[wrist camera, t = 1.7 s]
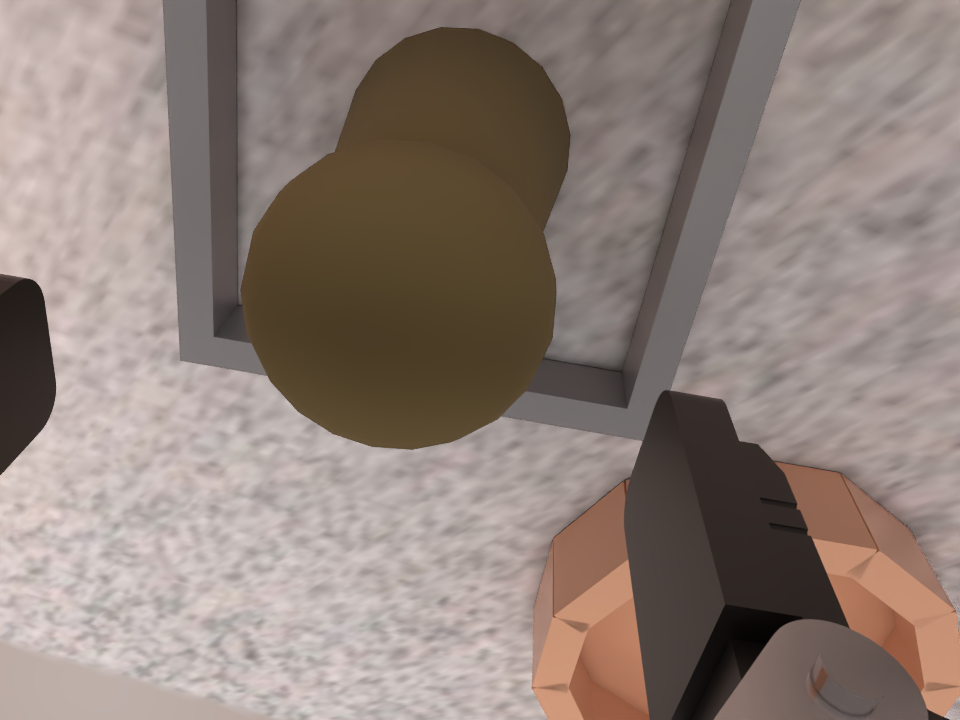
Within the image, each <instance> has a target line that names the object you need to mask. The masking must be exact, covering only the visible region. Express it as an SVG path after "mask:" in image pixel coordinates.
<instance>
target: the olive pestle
mask: <svg viewBox="0 0 960 720" xmlns="http://www.w3.org/2000/svg"><path fill="white" fill-rule="evenodd" d="M569 146H570V131H569V127H568V123H567V118H566V114H565V110H564V106H563V101H562V99H561V97H560V95H559V94H558V92H557V90H556V89H555V87H554V86H553V84H552V82H551V81H550V79H549V77H548V76H547V74H546V72H545V71H544V69H543V68H542V67H541V66H540V65H539V64H538V63H537V62H535V61H534V60H533V59H532V58H531V57H529V56H528V55H527V54H526V53H525V52H524V51H522V50H521V49H520V48H519V47H518V46H517V45H515V44H514V43H512V42H510V41H507V40H505V39H502V38H500V37H497V36H495V35H492V34H490V33H487V32H485V31H482V30H480V29H467V28H444V27H440V28H437V29H434V30H430V31H427V32H424V33H421V34H417V35H414V36H411V37H408V38H405V39H403V40H402V41H401V42H399V43H398V44H397V45H395V46H394V47H393V48H391V49H390V50H389V51H387V52H386V53H385V54H383V55H382V56H381V57H379V58H378V59H377V60H376V61H375V62H374V64H373V65H372V67H371V68H370V70H369V71H368V73H367V74H366V76H365V77H364V79H363V80H362V82H361V83H360V85H359V86H358V88H357V89H356V91H355V94H354V97H353V100H352V103H351V106H350V109H349V112H348V115H347V118H346V121H345V124H344V127H343V130H342V133H341V135H340V138H339V141H338V144H337V147H336V150H335V152H334V153H331V154H328V155H326V156H325V157H323V158H322V159H321V160H319V161H318V162H316V163H315V164H314V165H312V166H311V167H309V168H308V169H307V170H305V171H304V172H302V173H301V174H300V175H298V176H297V177H295V178H294V179H293V180H291V181H290V182H289V183H288V184H287V185H286V186H285V187H284V188H283V189H282V190H281V191H280V192H279V193H278V195H277V196H276V198H275V199H274V201H273V202H272V204H271V205H270V207H269V208H268V210H267V211H266V213H265V214H264V216H263V217H262V219H261V220H260V222H259V223H258V225H257V226H256V228H255V229H254V231H253V235H252V240H251V244H250V249H249V253H248V258H247V263H246V267H245V272H244V276H243V281H242V286H241V297H242V305H243V312H244V319H245V326H246V333H247V335H248V337H249V339H250V341H251V343H252V345H253V348H254V350H255V352H256V354H257V356H258V358H259V360H260V362H261V364H262V366H263V368H264V370H265V372H266V374H267V376H268V377H269V379H270V381H271V383H272V384H273V385H274V386H275V387H276V388H277V389H278V390H279V391H280V392H281V393H282V395H283V396H284V397H285V398H286V399H287V400H288V401H289V402H290V403H291V404H292V405H293V406H294V408H295V409H296V410H297V411H298V412H299V413H301V414H303V415H304V416H306V417H307V418H309V419H310V420H312V421H314V422H315V423H317V424H318V425H320V426H321V427H323V428H325V429H326V430H328V431H329V432H331V433H332V434H335V435H338V436H341V437H344V438H347V439H350V440H353V441H356V442H359V443H362V444H365V445H368V446H371V447H383V448H397V449H411V450H413V449H418V448H423V447H428V446H434V445H439V444H444V443H449V442H453V441H455V440H457V439H460V438H462V437H464V436H466V435H468V434H470V433H472V432H474V431H476V430H478V429H480V428H481V427H483V426H485V425H487V424H489V423H491V422H493V421H495V420H497V419H499V418H500V417H501V416H502V415H503V414H504V413H505V411H506V410H507V409H508V408H509V407H510V406H511V405H512V404H513V403H514V402H515V401H516V400H517V399H518V398H519V397H520V396H521V395H522V394H523V393H524V392H525V391H526V390H527V389H528V387H529V385H530V383H531V382H532V380H533V378H534V376H535V374H536V372H537V370H538V367H539V365H540V363H541V361H542V359H543V357H544V355H545V353H546V351H547V348H548V346H549V344H550V342H551V340H552V338H553V327H554V316H555V304H556V278H555V274H554V270H553V266H552V263H551V259H550V255H549V251H548V248H547V244H546V240H545V236H544V234H543V231H544V228H545V226H546V223H547V221H548V218H549V216H550V213H551V211H552V208H553V205H554V203H555V200H556V198H557V195H558V193H559V190H560V188H561V185H562V183H563V180H564V178H565V175H566V173H567V168H568V157H569Z"/></svg>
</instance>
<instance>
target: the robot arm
mask: <svg viewBox="0 0 960 720" xmlns="http://www.w3.org/2000/svg"><path fill="white" fill-rule="evenodd" d="M55 396H56V379H55V372H54V365H53V358H52V351H51V344H50V337H49V330H48V322H47V315H46V308H45V301H44V296H43V293H42V290H41V288H40V287H39V285H38V284H37V283H36V282H35V281H33V280H31V279H27V278H21V277H16V276H10V275H4V274H0V475H1V474H2V473H3V472H4V471H5V470H6V469H7V467H8V466H9V465H10V464H11V463H12V462H13V461H14V460H15V459H16V458H17V457H18V455H19V454H20V453H21V452H22V451H23V450H24V449H25V448H26V447H27V446H28V445H29V443H30V442H31V441H32V440H33V439H34V438H35V437H36V436H37V435H38V434H39V433H40V431H41V430H42V429H43V428H44V426H45V425H46V423H47V421H48V419H49V417H50V415H51V412H52V409H53V406H54V401H55ZM624 531H625V539H626V546H627V554H628V561H629V569H630V576H631V583H632V591H633V598H634V606H635V613H636V621H637V628H638V636H639V643H640V651H641V658H642V666H643V673H644V680H645V688H646V695H647V703H648V710H649V718H650V720H949V719H947V718H944V717H942V716H940V715H938V714H936V713H934V712H932V711H930V710H928V709H927V708H926V704H925V701H924V699H923V696H922V694H921V692H920V690H919V688H918V687H917V685H916V683H915V682H914V680H913V679H912V677H911V676H910V675H909V674H908V672H907V671H906V670H905V668H904V667H903V666H902V665H901V664H900V663H899V662H898V661H897V660H896V659H895V658H894V657H893V656H892V655H890V654H889V653H888V652H887V651H886V650H884V649H883V648H882V647H881V646H879V645H878V644H876V643H875V642H873V641H872V640H871V639H869V638H867V637H865V636H864V635H862V634H860V633H858V632H856V631H854V630H852V629H850V627H849V625H848V622H847V620H846V618H845V615H844V613H843V610H842V608H841V606H840V603H839V601H838V599H837V596H836V594H835V591H834V589H833V587H832V584H831V582H830V580H829V577H828V575H827V572H826V570H825V568H824V565H823V563H822V561H821V558H820V556H819V553H818V551H817V549H816V546H815V544H814V542H813V539H812V537H811V536H809V535H808V534H807V532H808V527H807V525H806V523H805V520H804V518H803V515H802V513H801V511H800V510H798V509H797V501H796V499H795V496H794V494H793V492H792V489H791V487H790V485H789V482H788V480H787V477H786V475H785V473H784V472H783V471H782V470H781V469H780V468H779V467H778V466H777V464H776V463H775V462H774V461H773V460H772V459H771V458H770V457H769V456H768V455H767V454H766V453H765V452H764V451H763V450H762V448H761V447H760V446H759V445H758V444H752V443H746V442H741V441H739V439H738V437H737V434H736V431H735V428H734V426H733V423H732V420H731V417H730V415H729V412H728V409H727V406H726V404H725V402H724V401H723V400H721V399H716V398H710V397H705V396H699V395H693V394H687V393H681V392H675V391H670V390H664V391H663V392H662V393H661V394H660V396H659V397H658V399H657V402H656V404H655V407H654V410H653V413H652V416H651V419H650V422H649V425H648V428H647V431H646V434H645V437H644V439H643V442H642V445H641V448H640V451H639V454H638V457H637V460H636V463H635V466H634V469H633V472H632V475H631V478H630V481H629V485H628V489H627V494H626V500H625V508H624Z"/></svg>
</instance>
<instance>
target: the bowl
mask: <svg viewBox="0 0 960 720" xmlns="http://www.w3.org/2000/svg"><path fill="white" fill-rule="evenodd" d="M775 463H776V464H777V466H778V467H779V468H780V469H781V470H782V471H783V472H784V473H785V475H786V477H787V480H788V482H789V485H790V487H791V489H792V492H793V494H794V496H795V499H796V501H797V509H798V510H800V511H801V513H802V515H803V518H804V520H805V523H806V525H807V527H808V532H807V534H808V535H809V536H811V537H812V539H813V542H814V544H815V546H816V549H817V551H818V553H819V556H820V558H821V561H822V563H823V565H824V568H825V570H826V572H827V575H828V577H829V580H830V582H831V584H832V587H833V589H834V591H835V594H836V596H837V599H838V601H839V603H840V606H841V608H842V610H843V613H844V615H845V618H846V620H847V622H848V625H849V627H850V629H852V630H854V631H856V632H858V633H860V634H862V635H864V636H865V637H867V638H869V639H871V640H872V641H873V642H875V643H876V644H878V645H879V646H881V647H882V648H883V649H884V650H886V651H887V652H888V653H889V654H890V655H892V656H893V657H894V658H895V659H896V660H897V661H898V662H899V663H900V664H901V665H902V666H903V667H904V668H905V670H906V671H907V672H908V674H909V675H910V676H911V677H912V679H913V680H914V682H915V683H916V685H917V687H918V688H919V690H920V692H921V694H922V696H923V699H924V701H925V704H926V708H927V709H928V710H930V711H932V712H934V713H936V714H938V715H940V716H942V717H944V716H945V714H946V713H947V712H948V710H949V709H950V707H951V706H952V705H953V703H954V702H955V701H956V699H957V698H958V697H959V695H960V638H959V630H958V622H957V615H956V611H955V609H954V607H953V605H952V604H951V602H950V600H949V598H948V597H947V595H946V593H945V591H944V589H943V588H942V586H941V584H940V582H939V581H938V579H937V577H936V575H935V574H934V572H933V570H932V568H931V566H930V565H929V563H928V561H927V559H926V558H925V556H924V554H923V552H922V550H921V549H920V547H919V545H918V543H917V542H916V540H915V538H914V536H913V534H912V533H911V531H910V529H909V528H907V527H906V526H905V525H904V524H902V523H901V522H900V521H899V520H898V519H896V518H895V517H894V516H893V515H891V514H890V513H889V512H888V511H887V510H885V509H884V508H883V507H882V506H880V505H879V504H878V503H877V502H875V501H874V500H873V499H872V498H871V497H869V496H868V495H867V494H866V493H864V492H863V491H862V490H861V489H859V488H858V487H857V486H856V485H855V484H853V483H852V482H851V481H850V480H848V479H847V478H846V477H845V476H844V475H842V474H841V475H840V473H837V472H831V471H826V470H820V469H814V468H808V467H803V466H797V465H791V464H785V463H780V462H775ZM625 481H626V483H625V482H624V481H623V482H622V483H620V484H619V485H618V486H617V487H615V488H614V489H613V490H612V491H611V492H609V493H608V494H607V495H606V496H605V497H603V498H602V499H601V500H600V501H598V502H597V503H596V504H595V505H594V506H592V507H591V508H590V509H589V510H587V511H586V512H585V513H584V514H583V515H581V516H580V517H579V518H578V519H576V520H575V521H574V522H573V523H572V524H570V525H569V526H568V527H567V528H566V529H564V530H563V531H562V532H561V533H559V534H558V535H557V536H556V537H555V538H554V540H552V544H551V547H550V551H549V555H548V558H547V562H546V565H545V569H544V573H543V576H542V580H541V584H540V587H539V591H538V594H537V598H536V602H535V605H534V626H533V667H532V689H533V691H534V693H535V695H536V697H537V699H538V701H539V703H540V705H541V707H542V708H543V710H544V712H545V714H546V716H547V718H548V720H650V718H649V710H648V703H647V695H646V688H645V680H644V673H643V666H642V658H641V651H640V643H639V636H638V628H637V621H636V613H635V606H634V598H633V591H632V583H631V576H630V569H629V561H628V554H627V546H626V539H625V531H624V508H625V500H626V494H627V489H628V485H629V481H630V479H628V480H625Z"/></svg>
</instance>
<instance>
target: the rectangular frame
mask: <svg viewBox="0 0 960 720" xmlns="http://www.w3.org/2000/svg"><path fill="white" fill-rule="evenodd" d="M800 1H801V0H731V4H730V7H729V11H728V14H727V17H726V21H725V24H724V28H723V31H722V34H721V38H720V41H719V45H718V48H717V51H716V55H715V58H714V62H713V65H712V68H711V72H710V75H709V79H708V82H707V85H706V89H705V92H704V96H703V99H702V102H701V106H700V109H699V113H698V116H697V119H696V123H695V126H694V130H693V133H692V136H691V140H690V143H689V147H688V150H687V153H686V157H685V160H684V164H683V167H682V170H681V174H680V177H679V181H678V184H677V187H676V191H675V194H674V198H673V201H672V204H671V208H670V211H669V215H668V218H667V221H666V225H665V228H664V232H663V235H662V238H661V242H660V245H659V249H658V252H657V255H656V259H655V262H654V266H653V269H652V272H651V276H650V279H649V283H648V286H647V289H646V293H645V296H644V300H643V303H642V306H641V310H640V313H639V317H638V320H637V323H636V327H635V330H634V334H633V337H632V341H631V344H630V347H629V351H628V354H627V358H626V361H625V364H624V368H623V371H622V373H621V372H615V371H610V370H604V369H598V368H593V367H587V366H581V365H575V364H570V363H564V362H558V361H552V360H547V359H542V361H541V363H540V365H539V367H538V370H537V372H536V374H535V376H534V378H533V380H532V382H531V383H530V385H529V387H528V389H527V390H526V391H525V392H524V393H523V394H522V395H521V396H520V397H519V398H518V399H517V400H516V401H515V402H514V403H513V404H512V405H511V406H510V407H509V408H508V409H507V410H506V411H505V413H504V414H503V415H502V416H503V417H508V418H514V419H520V420H526V421H532V422H537V423H543V424H549V425H555V426H560V427H566V428H572V429H578V430H583V431H589V432H595V433H601V434H606V435H612V436H618V437H624V438H630V439H635V440H641V441H643V439H644V437H645V434H646V431H647V428H648V425H649V422H650V419H651V416H652V413H653V410H654V407H655V404H656V402H657V399H658V397H659V396H660V394H661V393H662V392H663V391H664V390H670V389H671V386H672V383H673V380H674V377H675V374H676V371H677V368H678V365H679V362H680V359H681V356H682V353H683V350H684V347H685V344H686V341H687V338H688V335H689V332H690V329H691V326H692V323H693V320H694V317H695V314H696V311H697V308H698V305H699V302H700V299H701V296H702V293H703V290H704V287H705V284H706V281H707V278H708V275H709V272H710V269H711V266H712V263H713V260H714V257H715V254H716V251H717V249H718V246H719V243H720V240H721V237H722V234H723V231H724V228H725V225H726V222H727V219H728V216H729V213H730V210H731V207H732V204H733V201H734V198H735V195H736V192H737V189H738V186H739V183H740V180H741V177H742V174H743V171H744V168H745V165H746V162H747V159H748V156H749V153H750V150H751V147H752V144H753V141H754V138H755V135H756V132H757V129H758V126H759V123H760V120H761V117H762V114H763V111H764V108H765V106H766V103H767V100H768V97H769V94H770V91H771V88H772V85H773V82H774V79H775V76H776V73H777V70H778V67H779V64H780V61H781V58H782V55H783V52H784V49H785V46H786V43H787V40H788V37H789V34H790V31H791V28H792V25H793V22H794V19H795V16H796V13H797V10H798V7H799V4H800ZM163 12H164V33H165V54H166V75H167V95H168V116H169V137H170V158H171V179H172V199H173V220H174V241H175V262H176V282H177V303H178V324H179V345H180V361H186V362H192V363H197V364H203V365H209V366H215V367H220V368H226V369H232V370H238V371H243V372H249V373H255V374H261V375H266V376H267V374H266V372H265V370H264V368H263V366H262V364H261V362H260V360H259V358H258V356H257V354H256V352H255V350H254V348H253V345H252V343H251V341H250V339H249V337H248V335H247V333H246V326H245V319H244V312H243V306H237V56H236V0H163Z"/></svg>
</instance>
